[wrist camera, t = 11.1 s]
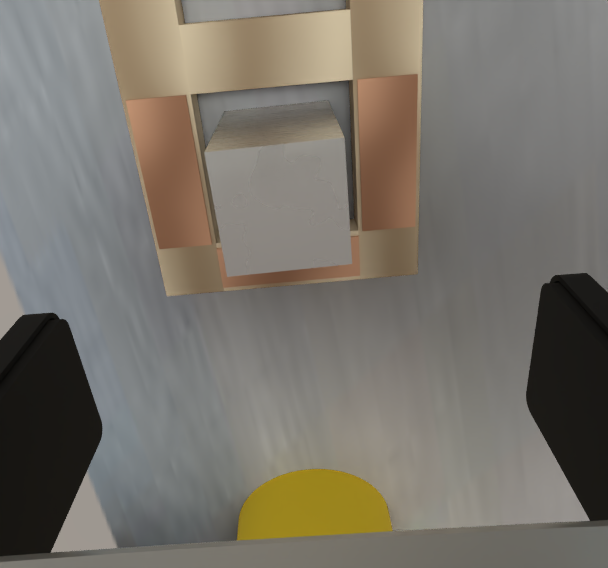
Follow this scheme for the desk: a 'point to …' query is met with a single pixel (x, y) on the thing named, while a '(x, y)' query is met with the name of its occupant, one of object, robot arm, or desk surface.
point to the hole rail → (261, 74)
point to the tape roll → (313, 506)
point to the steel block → (280, 188)
